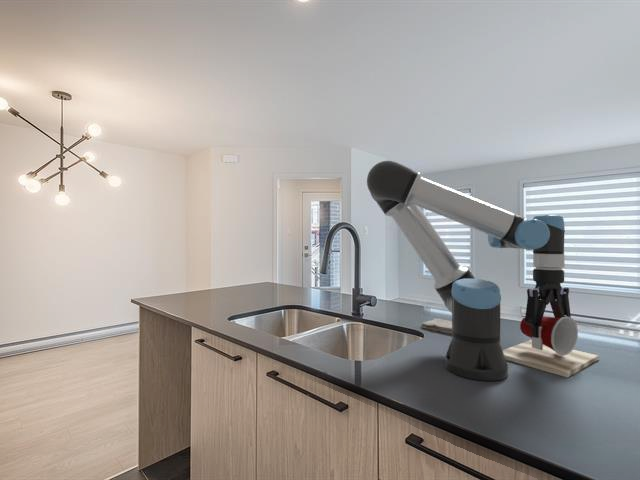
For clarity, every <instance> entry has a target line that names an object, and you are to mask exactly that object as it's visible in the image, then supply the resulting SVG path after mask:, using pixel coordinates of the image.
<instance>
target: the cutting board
mask: <svg viewBox="0 0 640 480" xmlns="http://www.w3.org/2000/svg"><path fill="white" fill-rule="evenodd" d="M502 350H503V353H504V356H505V359H506V361H507V362H508V361H509V362H513V363H516V364H519V365H523V366H525V367H526V366H527V367H528V368H529V367H530V368H533V369H537V370H539V371H540V370H541V371H542V372H543V371H544V372H547V373H550V374H553V375H554V374H555V375H557V376H560V377H564V378H569V377H570V378H571V376H573V375H574V374H576V373H578V372H580V371H582V370H583V369H585V368H587V367H588V366H590V365H592V364H593V363H595V362H597V361H598V360H599V359H600V358H599V354H594V353H589V352H584V351H580V350H576V349H573V350H572V351H571V352H570V353H569V354H568V355H564V356H562V355H559V354H557V353H556V352H555V351H554V350H552V349H551V348H549V347H547V346H545V345H543V350H538V349H535V348H532V339H530V340H526V341H524V342H521V343H519V344H516V345H513V346H510V347H508V348H505V349H502Z"/></svg>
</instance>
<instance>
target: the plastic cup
mask: <svg viewBox="0 0 640 480" xmlns="http://www.w3.org/2000/svg"><path fill="white" fill-rule="evenodd" d="M536 322H537V321H536ZM540 327H542V329H541V339H542V341H543V345H545V346H547V347H549V348H551V349H552V350H554V351H555V352H556V353H557V354H559V355H562V356H564V355H568V354H569V353H570V352H571V351H572V350H574V349H575V347H576V345H577V343H578V342H577V341H578V337H579V335H578V334H579V329H578V324H577V323H576V321H575V320H574V318H572V317H571V318H570V317H562V318H561V317H560V318H558V317H556V318H555V317H554V316H543V318H542V321H541V325H540ZM519 329H520V331H521V333H522V334H523V335H525V336H527V337H528V338H531V339H532V337H531V325H529V324H527V323H525V317H523V318H522V319H521V321H520V325H519Z"/></svg>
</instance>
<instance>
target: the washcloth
mask: <svg viewBox="0 0 640 480" xmlns="http://www.w3.org/2000/svg"><path fill="white" fill-rule="evenodd" d="M420 327H421V328H423V329H425V328H426V329H425V330H429V329H430V330H429V331H432V332H437V331H440V332H439V333H442V332H443V334H446V333H447V334H446V335H451V336H452V320H446V319H442V318H433V319H432V320H427V321H424V322H421V325H420Z"/></svg>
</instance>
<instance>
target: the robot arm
mask: <svg viewBox="0 0 640 480" xmlns="http://www.w3.org/2000/svg"><path fill="white" fill-rule="evenodd" d="M366 186H367V189H368V191H369V193H370V196H371V197H372V199H373V200H374V201H375V202H376V204H377V205H378V207H379V208H380V210H381V211H382V213H384V215H385V216H387V217H391V218H392V219H393V220H394V222H395V223H396V225H397V226H398V227H399V229H400V231H401V232H402V233H403V235H404V236H405V238H406V239H407V241H408V242H409V244H410V245H411V246H412V249H414V251H415V252H416V254H417V255H418V257H419V258H420V260H421V261H422V262H423V264H424V266H425V267H426V269H427V271H429V273H430V275H431V276H432V278H433V279H434V281H435V282H434V285H433V288H434V289H435V290H436V292H437V294H438V295H439V297H440V298H441V300H442V302H443V303H444V306H445V307H446V309H447V310H448V311H449V312H451V321H452V335H451V339H450V342H449V345H448V348H447V351H446V353H445V358H444V363H445V365H444V366H445V368H446V369H447V370H448V371H449V372H451V373H452V374H455V375H457V376H460V377H464V378H466V379H471V380H476V381H477V380H478V381H483V382H484V381H485V382H486V381H488V382H489V381H491V382H493V381H494V382H495V381H502V380H504V379H507V378H508V376H509V365H508V361H507V360H506V359H505V356H504V353H503V350H504V349H503V347H502V345H501V302H502V301H501V300H502V295H501V289H500V287H499V286H498V284H497V283H495V282H493V281H490V280H486V279H481V278H476V277H475V276H474V275H473V274H472V272H471V270H470V269H469V268H468V267H467V266H461V265H460V264H459V262H458V261H457V259H456V258H455V256H454V255H453V253H452V252H451V251H450V249H449V248H448V246H447V245H446V244H445V241H444V240H443V239H442V238H441V236H440V235H439V233H438V232H437V230H436V229H435V228H434V226H433V225H432V223H431V221H430V220H429V219H428V217H427V216H426V215H425V213H424V212H423V211H422V209H424V210H427V211H430V212H432V213H435V214H437V215H439V216H441V217H444V218H446V219H449V220H452V221H454V222H457V223H459V224H462V225H464V226H467V227H469V228H471V229H474V230H477V231H479V232H481V233H484V234H486V235H487V243H488V245H489V246H490V247H491V248H493V249H494V248H496V249H518V250H519V249H521V250H526V251H532V254H533V255H532V256H533V257H532V260H533V261H532V265H533V267H534V268H533V269H532V281H533V282H535V287H534V288H527V289H526V293H527V299H526V308H525V317H524V318H525V323H527V324H529V325H531V337H532V338H531V340H532V348H535V349H538V350H543V341H542V339H541V329H542V327H540V325H541V321H542V318H543V317H544V315H545V311H546V308H547V305H549V304H550V307H551V310H552V313H553V317H554V318H556V317H558V318H560V317H561V318H562V317H570V318H572V315H571V307H570V299H569V293H570V288H569V287H564V286H561V284H563V283H564V282H565V270H564V268H566V267H565V265H566V264H565V233H566V230H565V229H566V228H565V221H564V220H565V219H564V217H563V216H562V215H560V214H545V215H543V214H541V215H539V214H538V215H534V216H533V217H532V218H526V217H524V216H522V215H519V214H515V213H514V212H511V211H510V210H509V211H508V210H506V209H504V208H501V207H498V206H496V205H493V204H491V203H489V202H485V201H483V200H481V199H478V198H475V197H473V196H470V195H468V194H465V193H463V192H461V191H457V190H455V189H453V188H451V187H448V186H444V185H442V184H440V183H437V182H435V181H432V180H431V179H427V178H424V177H423V176H422V173H421V172H419V171H417V170H414V169H413V168H410V167H408V166H406V165H404V164H401V163H399V162H396V161H393V160H384V161H383V160H382V161H380V162H378V163H376V164H375V165H374V166H372V167H371V168H370V170H369V171H368V174H367V178H366ZM421 208H422V209H421ZM536 321H537V322H536Z"/></svg>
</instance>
